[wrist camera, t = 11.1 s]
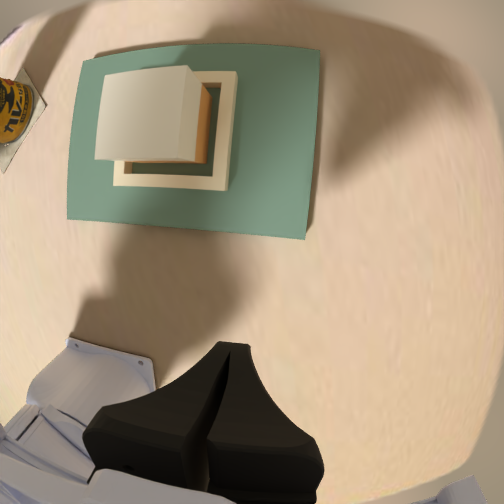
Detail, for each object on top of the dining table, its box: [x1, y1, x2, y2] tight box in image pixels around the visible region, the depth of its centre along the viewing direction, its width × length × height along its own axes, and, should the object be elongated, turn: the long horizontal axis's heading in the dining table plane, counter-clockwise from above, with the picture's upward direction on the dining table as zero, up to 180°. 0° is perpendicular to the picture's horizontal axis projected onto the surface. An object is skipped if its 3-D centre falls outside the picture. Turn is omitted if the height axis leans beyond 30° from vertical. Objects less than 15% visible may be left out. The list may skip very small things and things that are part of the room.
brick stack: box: [95, 65, 213, 164], centre depth 15 cm, size 4×4×6 cm
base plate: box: [67, 43, 320, 240], centre depth 18 cm, size 18×13×2 cm
